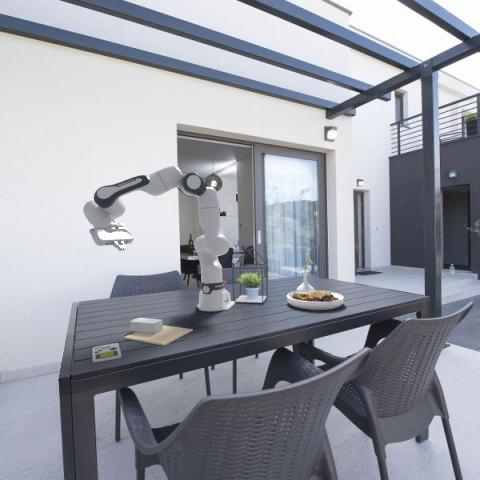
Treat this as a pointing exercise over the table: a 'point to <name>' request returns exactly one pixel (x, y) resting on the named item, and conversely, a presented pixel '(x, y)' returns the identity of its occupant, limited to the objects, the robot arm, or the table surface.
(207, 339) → the table surface
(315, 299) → the bowl
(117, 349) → the handheld gaming device
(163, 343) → the mat
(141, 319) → the skincare box
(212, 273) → the robot arm
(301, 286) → the flower in vase
